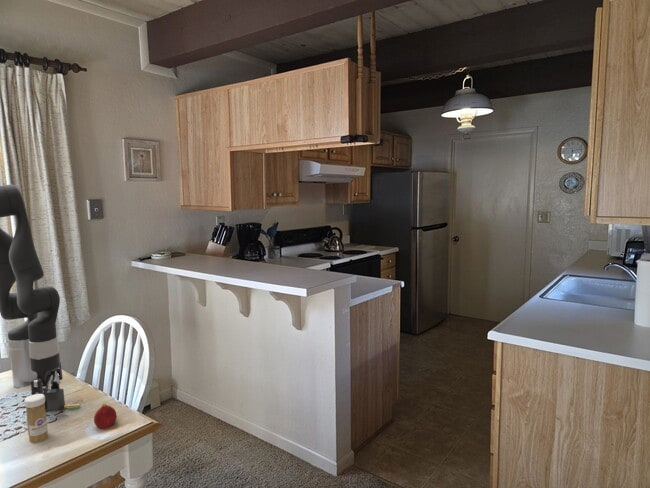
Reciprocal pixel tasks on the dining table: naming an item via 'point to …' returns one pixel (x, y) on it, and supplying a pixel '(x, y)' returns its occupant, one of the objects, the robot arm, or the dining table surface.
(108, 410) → the onion
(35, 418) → the sprinkles bottle
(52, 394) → the peg knob
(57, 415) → the tuner board
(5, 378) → the dining table surface
